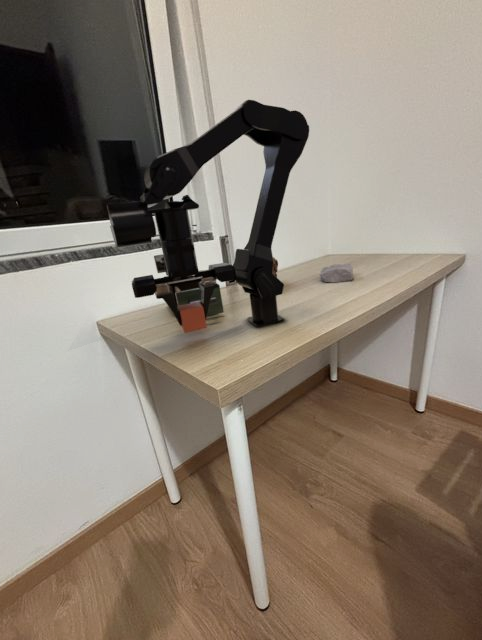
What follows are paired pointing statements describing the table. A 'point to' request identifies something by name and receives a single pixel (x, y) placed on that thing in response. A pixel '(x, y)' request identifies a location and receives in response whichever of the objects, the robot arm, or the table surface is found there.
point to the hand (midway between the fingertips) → (193, 322)
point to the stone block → (337, 273)
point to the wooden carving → (275, 267)
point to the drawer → (198, 297)
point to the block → (192, 317)
